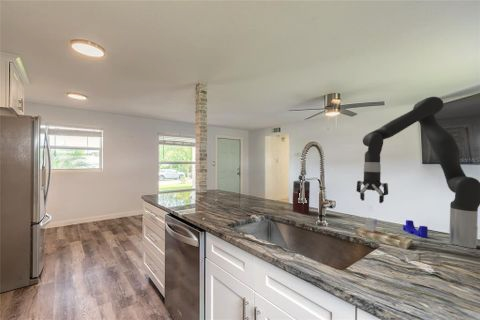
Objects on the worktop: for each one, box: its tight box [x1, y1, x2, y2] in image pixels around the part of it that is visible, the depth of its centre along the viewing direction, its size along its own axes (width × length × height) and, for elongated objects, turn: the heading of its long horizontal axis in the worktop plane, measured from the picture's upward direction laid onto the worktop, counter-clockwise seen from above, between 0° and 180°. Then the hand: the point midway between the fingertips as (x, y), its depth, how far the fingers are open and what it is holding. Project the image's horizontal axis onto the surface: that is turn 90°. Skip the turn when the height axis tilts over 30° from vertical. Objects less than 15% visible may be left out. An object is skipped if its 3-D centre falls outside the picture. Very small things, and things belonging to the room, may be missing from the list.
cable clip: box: [402, 219, 429, 239], centre depth 117 cm, size 12×4×6 cm, turn 174°
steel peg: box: [364, 217, 378, 233], centre depth 112 cm, size 4×4×9 cm
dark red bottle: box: [292, 174, 311, 215], centre depth 160 cm, size 9×11×28 cm
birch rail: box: [354, 226, 413, 250], centre depth 107 cm, size 22×10×3 cm, turn 39°
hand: (371, 201), depth 112 cm, fingers open, 8 cm apart
